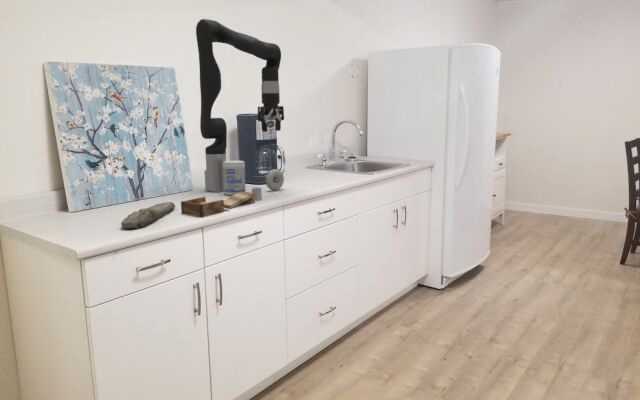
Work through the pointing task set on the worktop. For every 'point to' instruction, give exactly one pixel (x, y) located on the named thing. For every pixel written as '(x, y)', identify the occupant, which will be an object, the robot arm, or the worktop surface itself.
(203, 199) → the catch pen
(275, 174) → the donut
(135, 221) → the long grey stone
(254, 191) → the hollow grey box
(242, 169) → the supplement tub
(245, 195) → the ramp
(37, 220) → the worktop surface
